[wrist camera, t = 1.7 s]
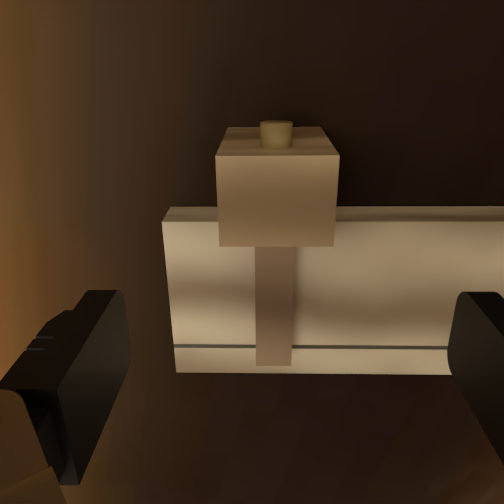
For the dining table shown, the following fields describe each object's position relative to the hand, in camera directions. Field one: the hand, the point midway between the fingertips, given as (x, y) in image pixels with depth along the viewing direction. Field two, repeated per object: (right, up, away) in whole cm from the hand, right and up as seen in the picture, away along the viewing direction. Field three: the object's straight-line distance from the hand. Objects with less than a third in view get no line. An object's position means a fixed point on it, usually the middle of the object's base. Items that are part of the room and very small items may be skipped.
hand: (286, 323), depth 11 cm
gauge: (0, +3, +16) cm, 16 cm away
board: (+8, 0, +17) cm, 19 cm away
